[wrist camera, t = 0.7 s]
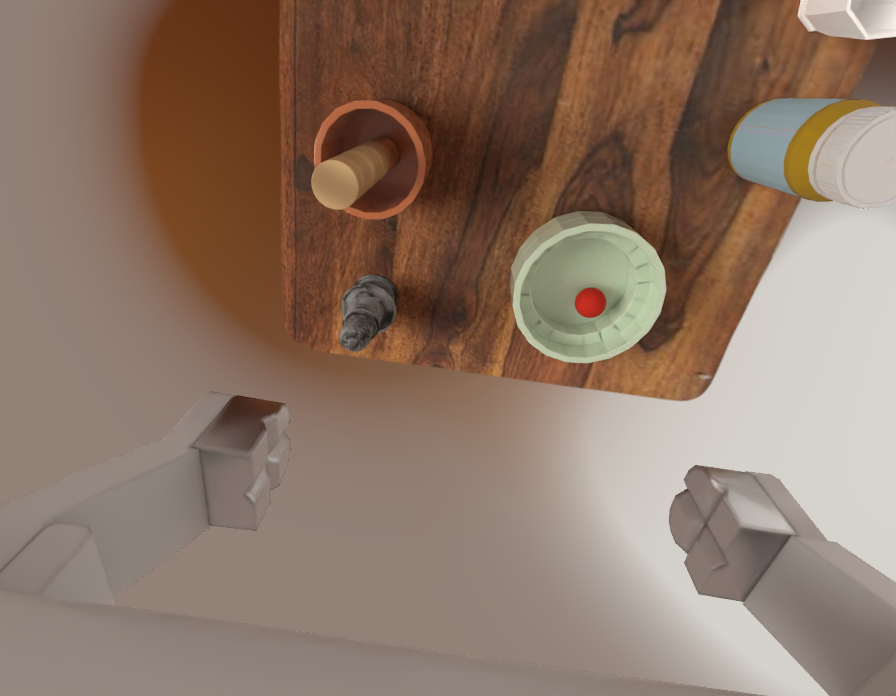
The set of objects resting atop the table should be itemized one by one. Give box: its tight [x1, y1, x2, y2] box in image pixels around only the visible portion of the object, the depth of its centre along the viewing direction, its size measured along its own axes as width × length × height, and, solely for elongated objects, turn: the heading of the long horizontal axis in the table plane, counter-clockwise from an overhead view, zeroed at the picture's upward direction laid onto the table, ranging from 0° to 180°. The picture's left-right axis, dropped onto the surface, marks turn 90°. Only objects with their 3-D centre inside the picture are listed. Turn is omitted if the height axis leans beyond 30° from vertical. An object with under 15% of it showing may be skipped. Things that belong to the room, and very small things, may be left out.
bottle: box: [728, 98, 896, 208], centre depth 37 cm, size 7×7×15 cm
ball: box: [575, 288, 606, 318], centre depth 50 cm, size 3×3×3 cm
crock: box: [314, 99, 433, 219], centre depth 43 cm, size 9×9×8 cm
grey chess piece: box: [339, 275, 398, 351], centre depth 48 cm, size 6×6×12 cm
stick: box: [311, 137, 400, 210], centre depth 37 cm, size 3×3×18 cm
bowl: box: [510, 211, 666, 363], centre depth 48 cm, size 14×14×6 cm
